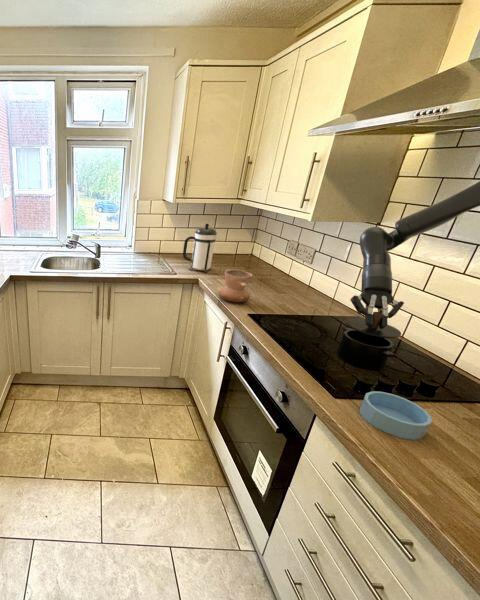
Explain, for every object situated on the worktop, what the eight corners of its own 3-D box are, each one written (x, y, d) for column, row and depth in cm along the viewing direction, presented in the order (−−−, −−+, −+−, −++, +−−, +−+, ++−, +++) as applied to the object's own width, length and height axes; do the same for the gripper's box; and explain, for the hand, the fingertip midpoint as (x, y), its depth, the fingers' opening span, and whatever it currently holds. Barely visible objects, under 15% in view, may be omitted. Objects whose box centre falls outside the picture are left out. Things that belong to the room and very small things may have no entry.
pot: (357, 346, 116) (365, 326, 113) (401, 375, 100) (412, 352, 97) (323, 346, 117) (330, 325, 113) (361, 375, 100) (371, 352, 97)
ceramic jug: (255, 306, 151) (262, 278, 145) (225, 306, 151) (230, 277, 146) (239, 293, 167) (244, 267, 162) (211, 292, 168) (216, 267, 162)
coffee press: (205, 266, 215) (212, 221, 203) (216, 273, 200) (224, 225, 188) (180, 266, 214) (186, 221, 202) (189, 273, 199) (196, 225, 188)
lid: (375, 321, 110) (381, 305, 108) (412, 340, 97) (420, 322, 95) (335, 320, 110) (341, 304, 108) (367, 339, 98) (374, 322, 95)
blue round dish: (392, 404, 87) (399, 391, 86) (439, 440, 76) (447, 425, 74) (347, 404, 88) (353, 390, 86) (386, 439, 76) (393, 424, 74)
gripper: (397, 288, 107) (397, 335, 102) (346, 282, 113) (344, 326, 107) (410, 277, 101) (411, 327, 95) (355, 272, 107) (354, 318, 101)
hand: (375, 326), depth 101 cm, fingers closed on lid, 2 cm apart
